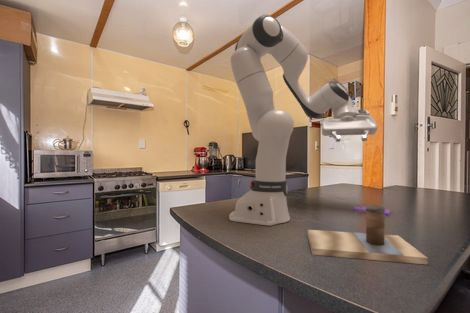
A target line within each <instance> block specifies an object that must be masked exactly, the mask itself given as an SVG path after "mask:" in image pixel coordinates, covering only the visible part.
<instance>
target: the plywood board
mask: <svg viewBox="0 0 470 313" xmlns="http://www.w3.org/2000/svg"><path fill="white" fill-rule="evenodd" d="M307 238H308V241H309V242H308V243H309V246H310V250H311V254H312V255H313V256H324V257H326V256H327V257H337V258H346V259H347V258H349V259H356V260H358V259H360V260H368V261H369V260H370V261H371V260H372V261H382V262H393V263H394V262H395V263H403V264H404V263H405V264H416V265H428V264H429V258H428V257H427V256H426V255H425V254H423V253H422V252H421V251H420V250H418V249H417V248H415V247H414V246H412V245H411V244H410V243H409V242H407V241H406V240H405V239H403V238H402V237H401V236H399V235H394V234H384V245H381V246H379V245H372V244H369V243H367V242H366V232H365V233H364V232H353V231H352V232H351V231H338V230H337V231H336V230H321V229H320V230H319V229H307Z"/></svg>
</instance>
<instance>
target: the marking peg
mask: <svg viewBox="0 0 470 313" xmlns="http://www.w3.org/2000/svg"><path fill="white" fill-rule="evenodd" d="M385 209H386V208H385V207H384V206H380V205H371V204H370V205H366V213H365V214H366V215H365V217H366V218H365V221H366V222H365V233H366V242H367V243H369V244H372V245H379V246H381V245H384V235H385V223H386V220H385V218H386V216H385Z"/></svg>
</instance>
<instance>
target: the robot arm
mask: <svg viewBox="0 0 470 313" xmlns="http://www.w3.org/2000/svg"><path fill="white" fill-rule="evenodd" d="M308 53H309V52H308V50H307V48H306V47H305V45H304V44H303V43H302V42H301V41H300V40H299V39H298V37H297V36H295V34H294V33H292V32H291V31H290V30H288V29H287V28H286V27H284V26H282V25H281V23H280V21H278V20H277V19H276V18H275V17H274V16H272V15H270V14H262V15H260V16H259V17H258V18H256V19H255V20H254V22H253V23H252V24H251V25H250V26H248V28H246V30H245V31H244V32H243V34H241V37H240V38H239V39H238V40H237V42H236V44H235V47H234V52H233V53H231V56H230V65H231V70H232V73H233V77H234V80H235V84H236V85H237V88H238V91H239V93H240V96H241V98H242V101H243V104H244V106H245V110H246V114H247V119H248V122H249V125H250V129H251V135H252V137H253V138H254V139H255V140H256V141H257V142H258V145H257V146H258V147H257V151H256V152H257V153H256V157H255V179H252V180H250V183H249V189H250V190H248V191H247V192H246V193H245V194H244V195H242V196H241V197H240V198H238V200H237V201H236V204H235V207H234V208H235V209H234V211H231V212H230V213H229V215H228V220H230V221H231V222H236V223H237V222H238V223H245V224H251V225H252V224H253V225H262V226H275V225H278V224H283V223H287V222H289V221H290V220H291V216H290V214H289V209H288V201H287V195H288V180H286V178H287V176H286V173H287V172H286V171H287V169H286V167H287V163H286V162H287V154H288V150H289V144H290V139H291V135H292V133H293V131H294V127H295V122H294V121H295V120H294V119H293V117H292V115H291V114H290V113H288V112H287V111H284V110H282V109H281V110H280V109H275V104H274V92H273V88H272V87H271V84H270V81H269V78H268V75H267V73H266V70H265V68H264V67H263V64H262V62H261V58H263V57H264V56H266V55H267V54H270V55H271V56H272V57H273V59H275V61H276V62H277V63H278V65H279V66H281V68H282V71H283V74H282V78H283V81H284V83H285V85H286V87H287V88H288V90H289V91H290V92H291V93H292V95H293V97H294V98H295V99H296V101H297V102H298V104H299V105H300V108H301V109H302V110H303V112H304V113H305V115H306V116H307V117H308V118H310V119H319V118H320V117H321V116H322V115H325V113H327V111H329V110H331V112H332V113H333V114H332V116H333V117H332V118H326V117H325V118H323V119H320V121H319V125H320V127H321V135H322V136H324V137H329V136H331V137H332V138H333V139H334V141H335V143H337V142H341V136H361V138H360V139H361V141H362V142H367V141H368V135H369V136H370V135H375V134H376V133H377V131H378V125H377V122H376V119H374V117H373V116H372V115H371V112H370V111H369V110H366V109H358V108H355V106H354V102H353V100H352V98H351V96H350V95H349V92H348V90H347V89H346V87H345V85H343V84H342V83H340V81H339V82H338V81H334V80H333V81H328V82H327V83H326V84H324V85H323V86H322V87H321V88H319V90H317V91H315V92H314V93H313V94H312V95H310V96H309V95H307V94H306V92H305V90H304V89H303V87H302V86H301V84H300V83H299V79H300V76H301V75H302V73H303V72H304V70H305V67H306V66H307V62H308V58H309V56H308Z"/></svg>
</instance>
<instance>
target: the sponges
mask: <svg viewBox="0 0 470 313" xmlns="http://www.w3.org/2000/svg"><path fill="white" fill-rule="evenodd" d="M366 206H367V205H366ZM366 206H365V205H360V204H359V205H358V204H356V206H354V207H353V212H356V213H357V212H358V213H365V214H366ZM391 211H392V210H391V209H388V208H387V209H386V208H385V217H390V215H391Z"/></svg>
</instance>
